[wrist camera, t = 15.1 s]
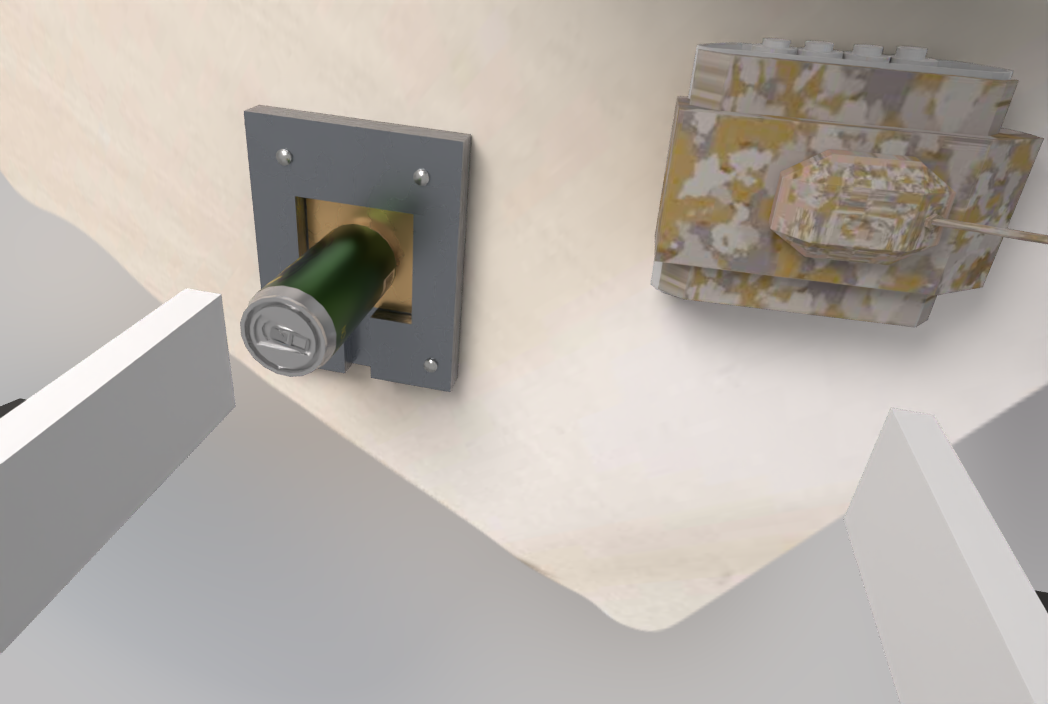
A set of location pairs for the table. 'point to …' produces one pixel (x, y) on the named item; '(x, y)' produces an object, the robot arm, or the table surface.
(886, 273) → the toy tank
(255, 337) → the beer can
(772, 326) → the table surface
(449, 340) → the chassis plate
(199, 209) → the table surface
